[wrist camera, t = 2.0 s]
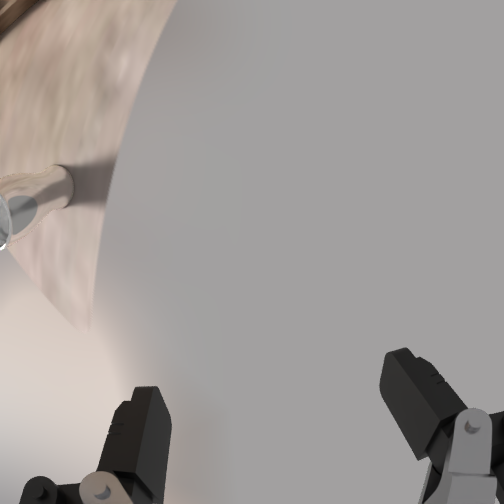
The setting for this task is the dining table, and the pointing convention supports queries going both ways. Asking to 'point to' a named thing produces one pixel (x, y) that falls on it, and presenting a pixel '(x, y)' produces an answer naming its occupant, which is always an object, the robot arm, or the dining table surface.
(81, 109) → the dining table surface
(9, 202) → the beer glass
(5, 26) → the wooden tray
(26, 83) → the dining table surface
